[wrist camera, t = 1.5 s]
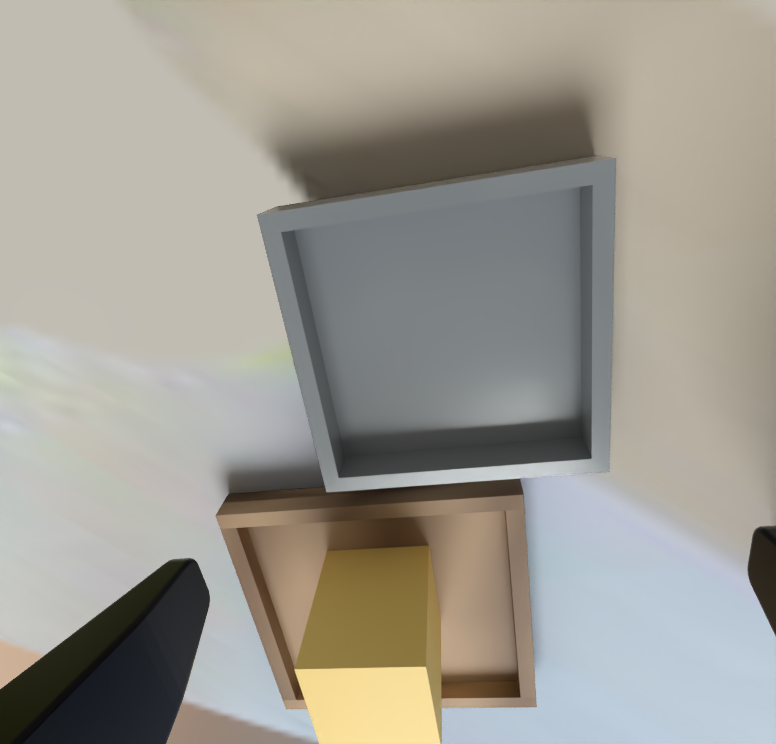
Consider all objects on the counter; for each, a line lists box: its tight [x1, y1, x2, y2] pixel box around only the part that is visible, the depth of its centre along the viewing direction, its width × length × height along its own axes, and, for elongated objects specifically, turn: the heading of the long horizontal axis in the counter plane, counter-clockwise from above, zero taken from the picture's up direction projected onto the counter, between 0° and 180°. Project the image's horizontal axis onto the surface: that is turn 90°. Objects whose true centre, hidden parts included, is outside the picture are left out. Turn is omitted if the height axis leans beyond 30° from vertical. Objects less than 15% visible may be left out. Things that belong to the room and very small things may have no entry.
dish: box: [257, 156, 616, 492], centre depth 17 cm, size 10×10×2 cm
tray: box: [216, 478, 537, 709], centre depth 23 cm, size 12×12×1 cm
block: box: [294, 546, 442, 744], centre depth 20 cm, size 4×4×6 cm
